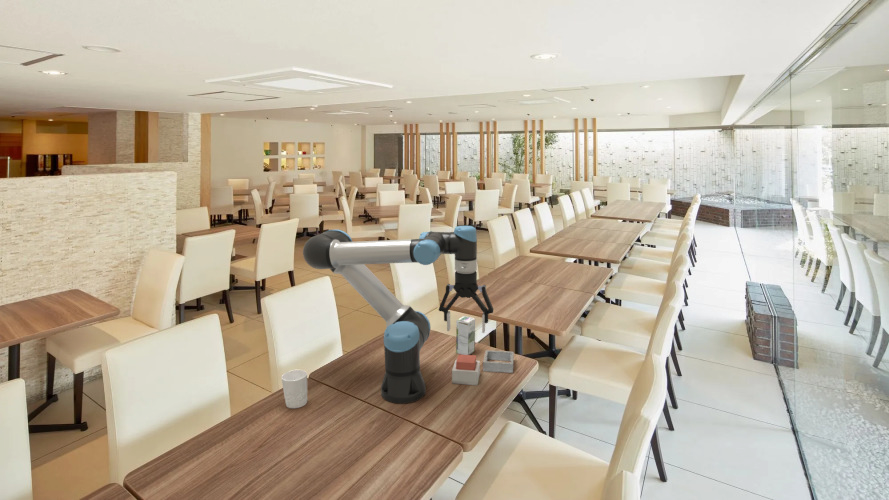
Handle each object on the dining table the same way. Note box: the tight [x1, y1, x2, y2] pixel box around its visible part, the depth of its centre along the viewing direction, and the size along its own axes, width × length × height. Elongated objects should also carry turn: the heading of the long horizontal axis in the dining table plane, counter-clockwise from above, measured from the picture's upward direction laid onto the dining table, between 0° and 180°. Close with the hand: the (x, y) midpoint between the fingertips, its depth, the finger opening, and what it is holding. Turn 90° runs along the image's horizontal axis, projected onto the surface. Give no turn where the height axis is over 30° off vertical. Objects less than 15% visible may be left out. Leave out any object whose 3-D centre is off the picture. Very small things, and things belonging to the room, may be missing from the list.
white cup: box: [280, 369, 308, 409], centre depth 149 cm, size 8×8×10 cm
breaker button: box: [456, 354, 477, 371], centre depth 164 cm, size 6×6×5 cm
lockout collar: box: [482, 349, 515, 374], centre depth 174 cm, size 11×11×4 cm
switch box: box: [451, 358, 481, 386], centre depth 165 cm, size 9×9×5 cm
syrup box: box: [455, 315, 476, 355], centre depth 185 cm, size 6×6×14 cm
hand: (466, 330), depth 161 cm, fingers open, 12 cm apart
